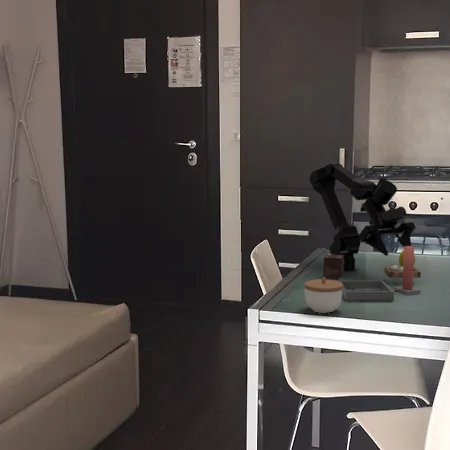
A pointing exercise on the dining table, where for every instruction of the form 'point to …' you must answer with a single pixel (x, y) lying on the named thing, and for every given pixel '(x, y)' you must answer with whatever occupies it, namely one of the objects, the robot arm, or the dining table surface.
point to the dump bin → (367, 291)
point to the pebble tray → (400, 274)
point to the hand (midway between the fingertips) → (399, 253)
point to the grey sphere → (394, 268)
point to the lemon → (401, 258)
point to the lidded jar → (323, 294)
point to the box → (333, 266)
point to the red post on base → (408, 273)
